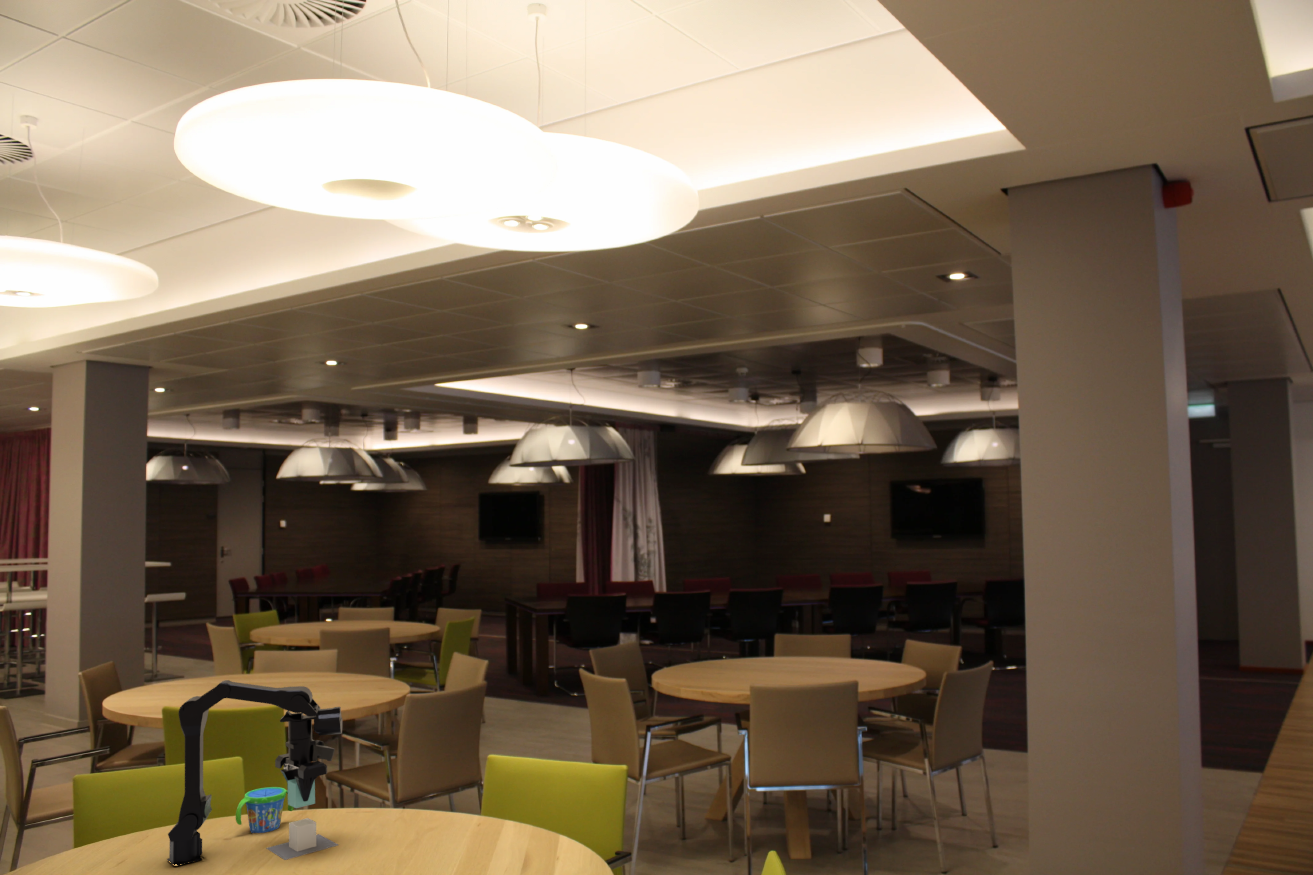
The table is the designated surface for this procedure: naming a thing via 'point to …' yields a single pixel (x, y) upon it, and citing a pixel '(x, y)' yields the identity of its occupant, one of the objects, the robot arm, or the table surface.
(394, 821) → the table surface
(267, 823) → the snack cup
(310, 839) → the white block
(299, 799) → the teal block
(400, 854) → the table surface
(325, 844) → the mat
